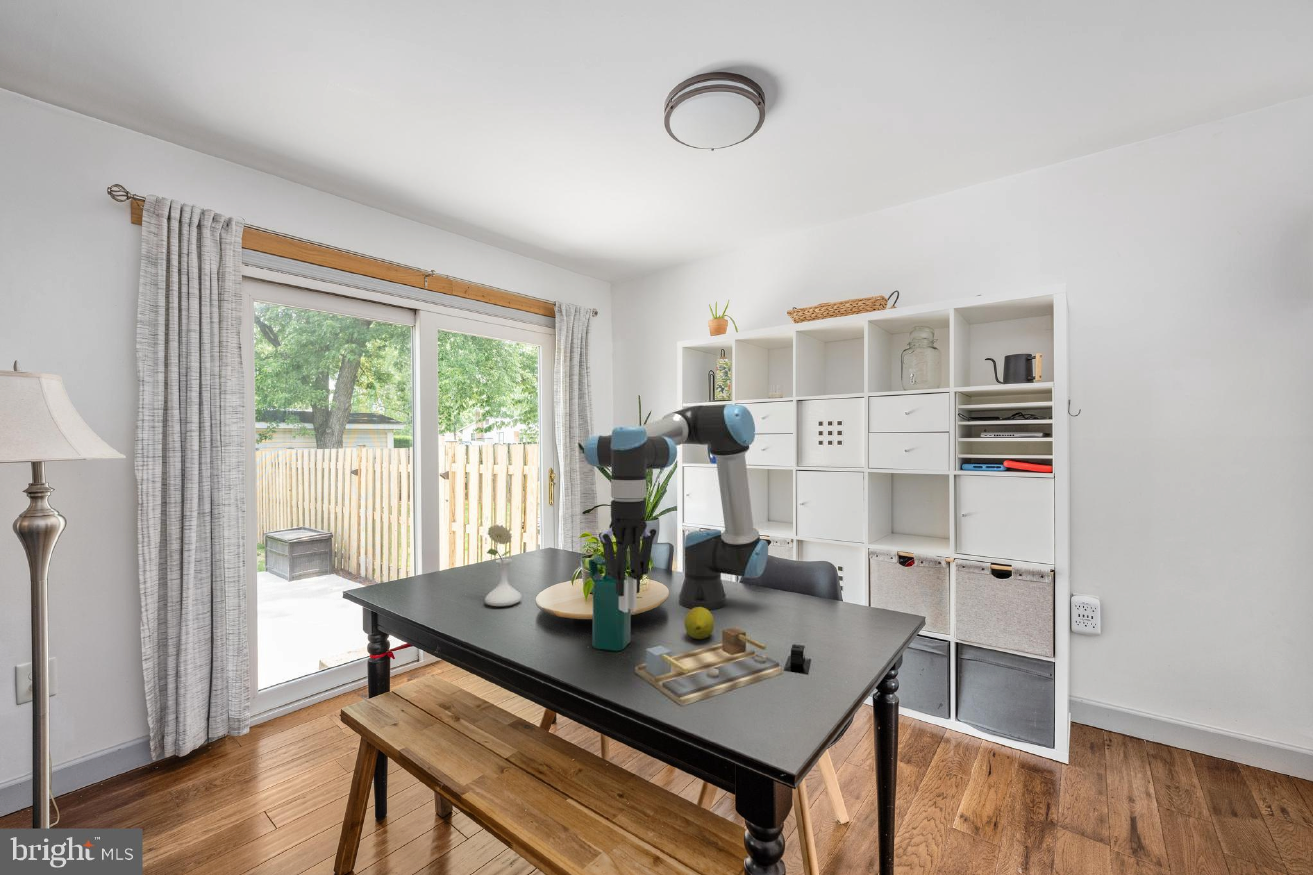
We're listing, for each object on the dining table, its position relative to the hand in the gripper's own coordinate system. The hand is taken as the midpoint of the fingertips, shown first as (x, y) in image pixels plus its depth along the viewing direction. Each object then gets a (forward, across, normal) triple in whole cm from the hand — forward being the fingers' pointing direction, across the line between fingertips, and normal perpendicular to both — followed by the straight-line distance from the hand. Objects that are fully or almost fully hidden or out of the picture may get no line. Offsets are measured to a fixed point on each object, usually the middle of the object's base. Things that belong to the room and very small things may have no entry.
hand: (627, 609), depth 115 cm
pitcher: (+17, -8, -23) cm, 29 cm away
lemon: (+17, -30, -14) cm, 37 cm away
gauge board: (+16, -19, +4) cm, 25 cm away
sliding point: (+15, -8, +4) cm, 18 cm away
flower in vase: (+17, +5, -71) cm, 73 cm away
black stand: (+17, -40, +12) cm, 45 cm away
